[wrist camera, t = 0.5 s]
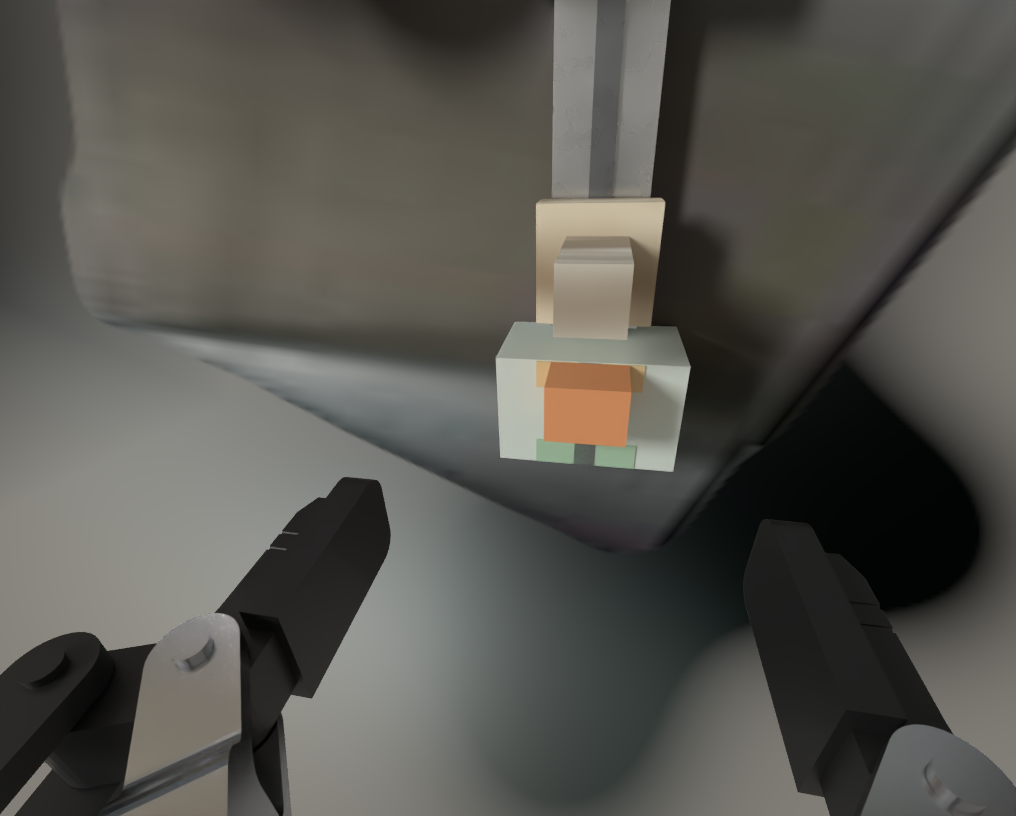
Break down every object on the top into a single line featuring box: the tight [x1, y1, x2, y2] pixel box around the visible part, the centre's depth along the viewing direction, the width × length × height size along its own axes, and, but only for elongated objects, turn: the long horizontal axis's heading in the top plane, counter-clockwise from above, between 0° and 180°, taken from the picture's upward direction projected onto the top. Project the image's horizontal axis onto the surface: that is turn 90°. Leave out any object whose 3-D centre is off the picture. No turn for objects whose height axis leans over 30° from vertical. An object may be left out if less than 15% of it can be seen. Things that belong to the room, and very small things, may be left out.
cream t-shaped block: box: [536, 198, 665, 340], centre depth 22 cm, size 6×6×8 cm
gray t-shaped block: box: [550, 0, 671, 329], centre depth 23 cm, size 19×8×5 cm, turn 1°
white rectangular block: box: [496, 322, 691, 472], centre depth 29 cm, size 6×10×6 cm, turn 91°
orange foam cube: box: [544, 362, 632, 447], centre depth 24 cm, size 3×4×3 cm
